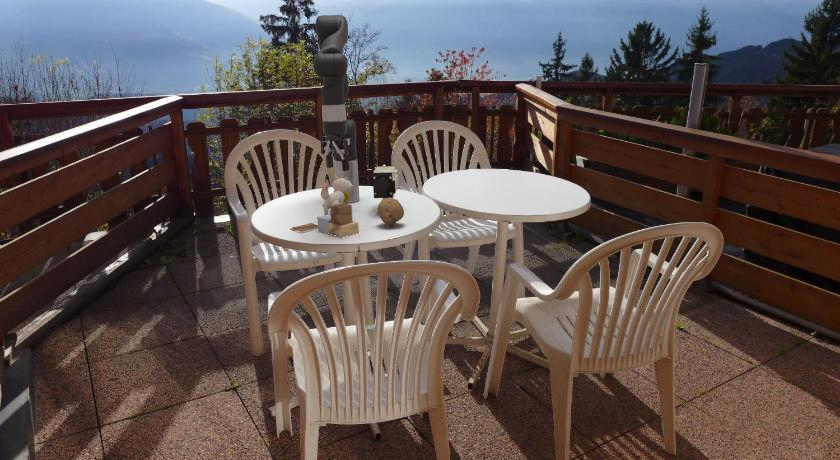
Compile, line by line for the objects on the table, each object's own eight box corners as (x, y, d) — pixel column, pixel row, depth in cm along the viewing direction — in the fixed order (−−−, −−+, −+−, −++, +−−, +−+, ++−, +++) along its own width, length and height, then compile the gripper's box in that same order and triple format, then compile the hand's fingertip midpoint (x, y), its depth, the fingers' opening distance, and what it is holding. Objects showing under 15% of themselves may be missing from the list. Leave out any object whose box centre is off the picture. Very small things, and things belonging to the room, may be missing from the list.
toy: (358, 209, 224) (355, 171, 219) (335, 222, 206) (332, 181, 202) (337, 208, 227) (334, 170, 222) (313, 220, 209) (310, 180, 205)
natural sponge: (403, 221, 205) (402, 194, 202) (405, 228, 197) (404, 200, 194) (377, 223, 204) (376, 195, 201) (379, 230, 196) (378, 201, 193)
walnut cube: (331, 223, 192) (330, 205, 190) (343, 220, 195) (341, 202, 194) (340, 225, 188) (339, 207, 187) (352, 222, 192) (351, 205, 190)
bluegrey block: (317, 217, 195) (328, 219, 191) (328, 214, 199) (339, 216, 195) (318, 231, 197) (329, 234, 193) (329, 227, 200) (340, 230, 196)
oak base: (329, 235, 192) (328, 223, 191) (345, 230, 198) (344, 219, 196) (343, 238, 188) (342, 227, 187) (358, 233, 193) (358, 222, 192)
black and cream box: (396, 216, 212) (394, 169, 207) (373, 216, 212) (371, 169, 207) (400, 204, 229) (399, 160, 224) (379, 204, 230) (377, 161, 225)
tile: (289, 229, 199) (289, 227, 199) (311, 223, 205) (311, 222, 205) (301, 233, 194) (300, 231, 194) (323, 227, 200) (323, 225, 200)
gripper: (311, 118, 185) (315, 168, 190) (338, 121, 175) (341, 173, 180) (330, 116, 190) (334, 165, 195) (357, 119, 180) (360, 170, 185)
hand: (337, 169), depth 187 cm, fingers open, 8 cm apart
